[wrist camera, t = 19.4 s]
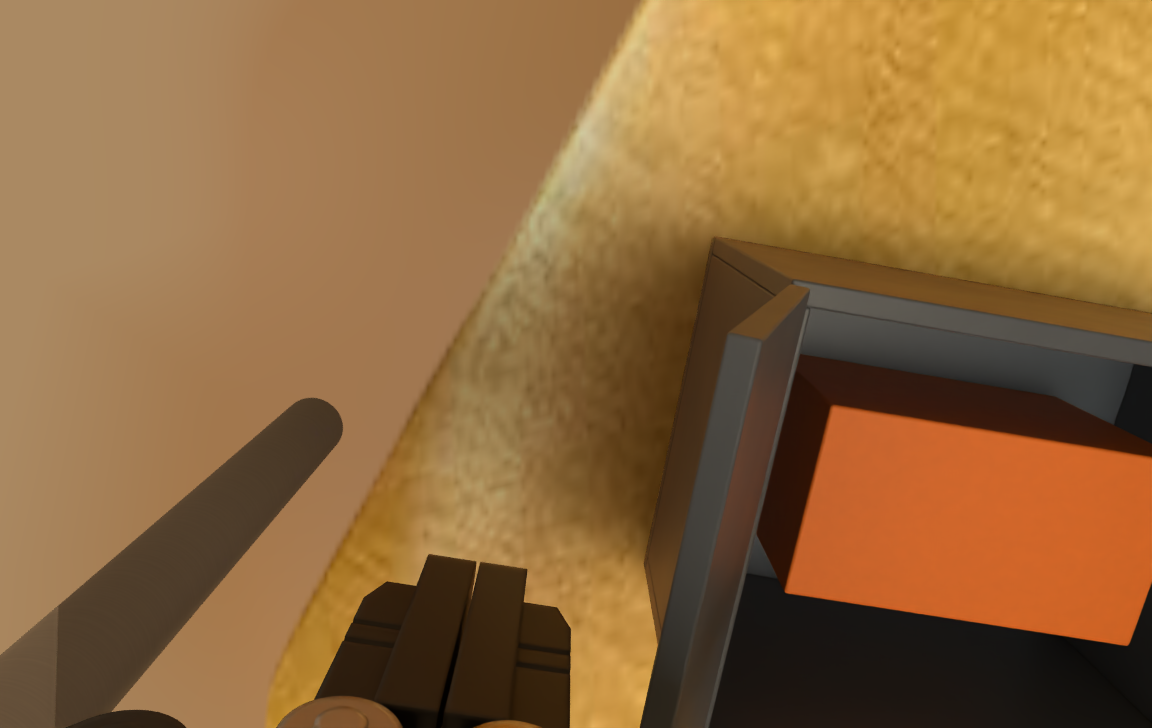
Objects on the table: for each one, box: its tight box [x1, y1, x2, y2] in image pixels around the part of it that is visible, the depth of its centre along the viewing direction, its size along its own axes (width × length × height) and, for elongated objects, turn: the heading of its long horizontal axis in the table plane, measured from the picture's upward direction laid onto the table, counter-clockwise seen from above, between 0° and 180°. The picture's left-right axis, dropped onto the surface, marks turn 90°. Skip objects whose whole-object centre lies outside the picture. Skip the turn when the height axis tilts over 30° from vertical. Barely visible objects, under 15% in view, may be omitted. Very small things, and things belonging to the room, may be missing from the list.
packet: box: [756, 354, 1152, 646], centre depth 23 cm, size 9×5×6 cm, turn 80°
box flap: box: [640, 284, 810, 728], centre depth 13 cm, size 7×11×1 cm
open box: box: [644, 236, 1152, 728], centre depth 22 cm, size 14×11×10 cm
